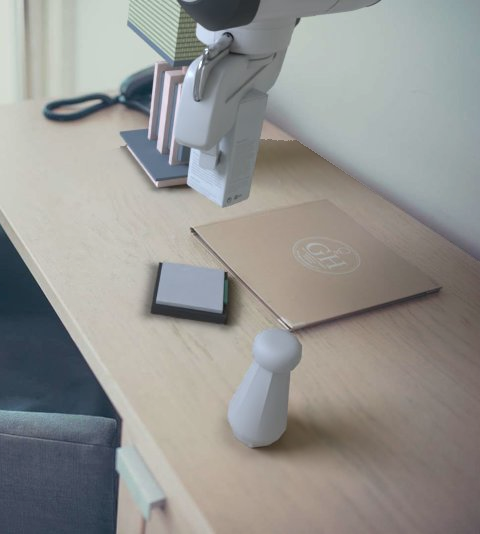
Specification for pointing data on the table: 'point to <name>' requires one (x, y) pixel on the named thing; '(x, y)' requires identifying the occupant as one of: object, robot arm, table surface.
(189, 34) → the desk lamp
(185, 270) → the scale
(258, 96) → the cosmetic box
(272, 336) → the salt shaker
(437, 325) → the table surface
